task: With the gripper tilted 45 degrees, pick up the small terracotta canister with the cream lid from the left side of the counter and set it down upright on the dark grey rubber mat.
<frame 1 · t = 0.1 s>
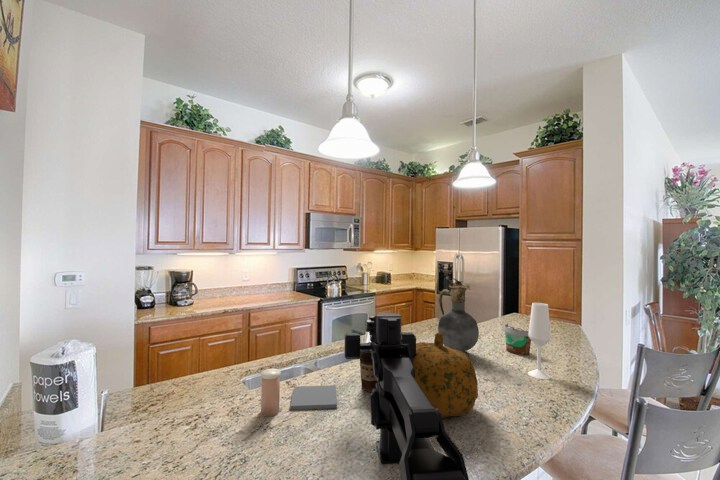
hand: (374, 336, 91), 17 cm above the countertop, tool horizontal, fingers open, 9 cm apart
terracotta canister: (270, 411, 80), on the countertop
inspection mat: (314, 398, 87), on the countertop
decorative pumpkin: (438, 408, 84), on the countertop
champagne flute: (538, 375, 106), on the countertop
food container: (513, 352, 129), on the countertop
coffee cup: (372, 389, 94), on the countertop
pitcher: (454, 352, 127), on the countertop
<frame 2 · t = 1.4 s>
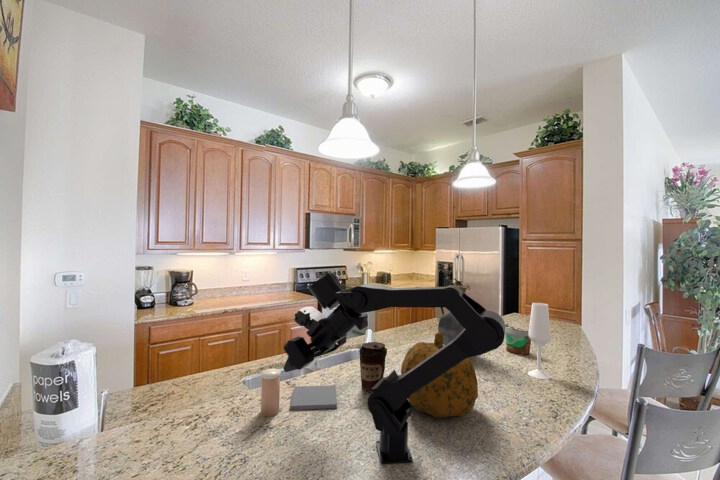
hand: (297, 363, 77), 14 cm above the countertop, tool tilted 45°, fingers open, 9 cm apart
nothing on the countertop moved.
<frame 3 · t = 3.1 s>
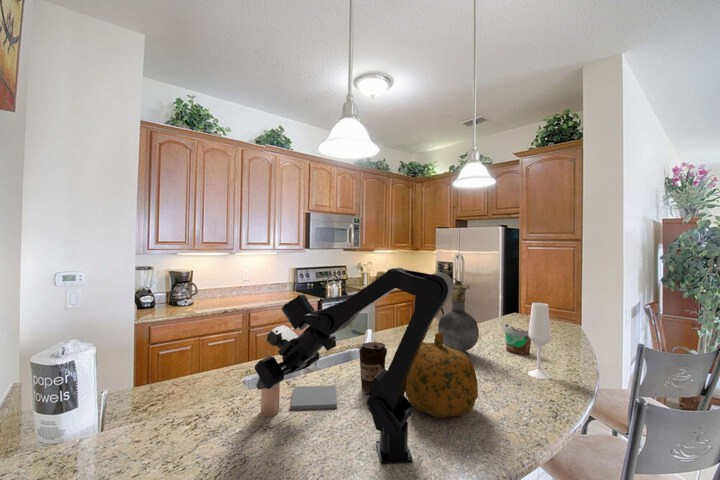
hand: (270, 380, 80), 8 cm above the countertop, tool tilted 45°, fingers open, 9 cm apart
nothing on the countertop moved.
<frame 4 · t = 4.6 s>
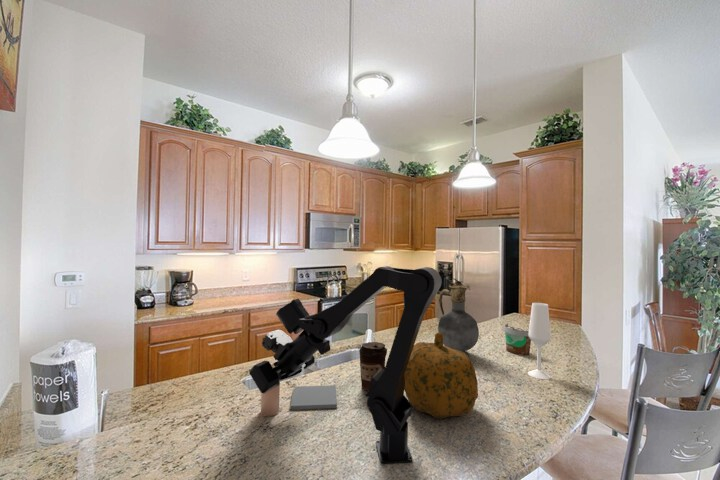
hand: (266, 384, 81), 7 cm above the countertop, tool tilted 45°, fingers closed on terracotta canister, 4 cm apart
terracotta canister: (270, 411, 80), on the countertop, touching gripper
everything else where it was.
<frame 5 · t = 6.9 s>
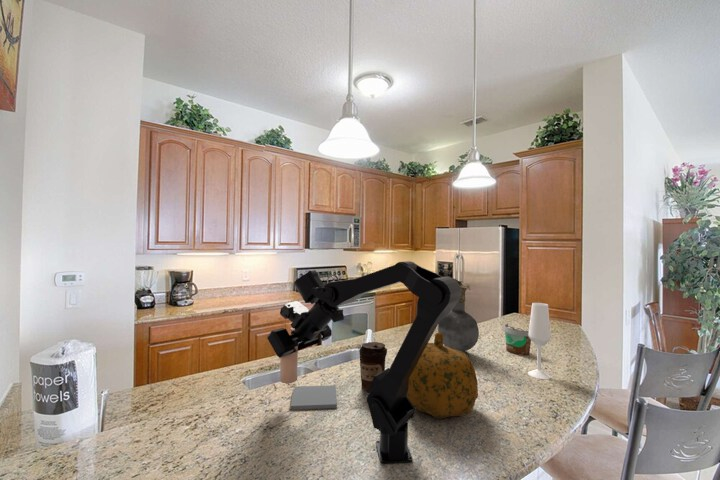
hand: (285, 353, 84), 13 cm above the countertop, tool tilted 45°, fingers closed on terracotta canister, 4 cm apart
terracotta canister: (288, 379, 83), point 7 cm above the countertop, touching gripper
everything else where it was.
when the fingers open (9 cm above the countertop, at t = 9.1 s): terracotta canister drops 1 cm, resting on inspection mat.
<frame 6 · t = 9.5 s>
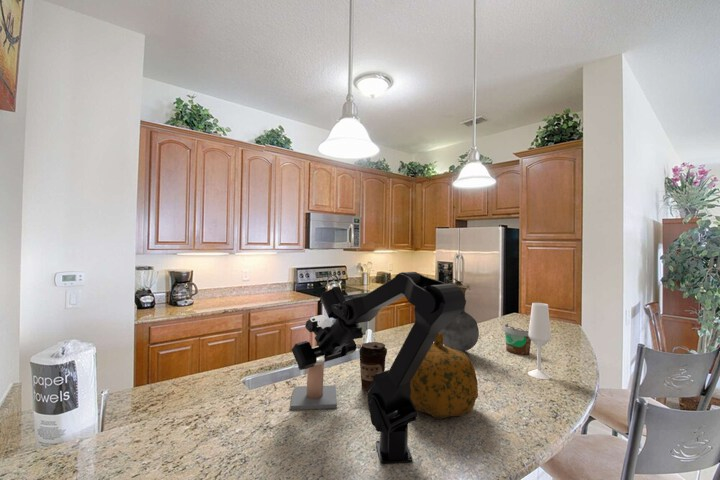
hand: (312, 364, 88), 9 cm above the countertop, tool tilted 45°, fingers open, 8 cm apart
terracotta canister: (314, 394, 87), point 1 cm above the countertop, touching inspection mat
everything else where it was.
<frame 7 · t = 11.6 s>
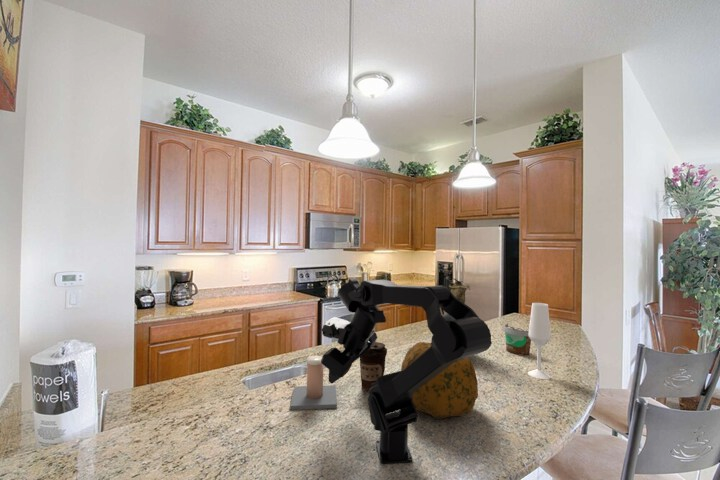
hand: (340, 372, 81), 10 cm above the countertop, tool tilted 30°, fingers open, 9 cm apart
nothing on the countertop moved.
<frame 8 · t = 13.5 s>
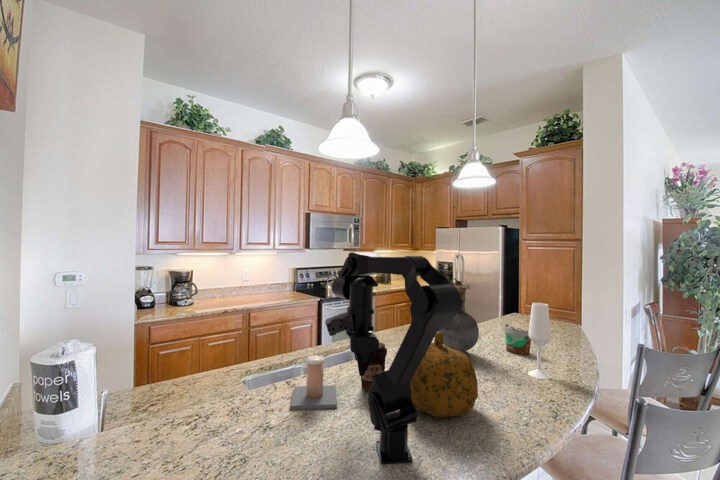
hand: (359, 367, 77), 13 cm above the countertop, tool pointing down, fingers open, 9 cm apart
nothing on the countertop moved.
at the end: terracotta canister inside the target area on the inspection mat (0.0 cm from its centre), point 1.0 cm above the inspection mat's base; terracotta canister tilted 0°; the gripper is holding nothing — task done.
